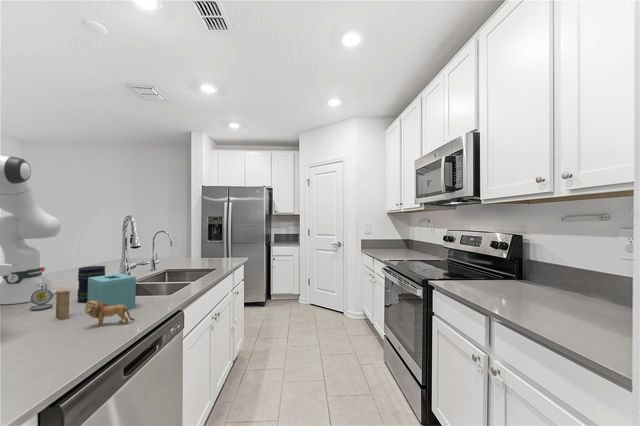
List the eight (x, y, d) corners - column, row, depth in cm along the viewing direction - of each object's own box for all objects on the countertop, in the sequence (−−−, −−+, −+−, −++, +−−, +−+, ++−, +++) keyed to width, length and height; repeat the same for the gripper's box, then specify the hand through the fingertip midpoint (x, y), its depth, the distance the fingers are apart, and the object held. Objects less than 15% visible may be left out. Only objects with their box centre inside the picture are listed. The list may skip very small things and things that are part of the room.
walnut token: (55, 317, 106) (56, 290, 107) (64, 315, 108) (65, 289, 109) (60, 320, 104) (60, 292, 104) (68, 318, 106) (69, 291, 106)
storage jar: (72, 301, 127) (73, 268, 127) (95, 296, 136) (96, 265, 136) (86, 304, 123) (87, 270, 124) (109, 298, 132) (110, 266, 133)
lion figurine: (81, 330, 94) (82, 303, 95) (86, 325, 99) (87, 299, 99) (133, 323, 101) (134, 298, 101) (136, 319, 105) (136, 294, 106)
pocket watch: (38, 311, 113) (39, 286, 113) (22, 310, 115) (23, 285, 115) (60, 305, 121) (61, 282, 121) (45, 304, 123) (46, 281, 123)
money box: (87, 309, 116) (88, 277, 117) (120, 302, 126) (120, 273, 127) (101, 315, 109) (102, 281, 109) (135, 307, 119) (135, 276, 119)
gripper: (-32, 260, 80) (34, 259, 92) (-48, 259, 90) (13, 258, 102) (-36, 283, 80) (32, 278, 92) (-52, 279, 90) (11, 275, 102)
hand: (22, 267), depth 97 cm, fingers open, 8 cm apart
